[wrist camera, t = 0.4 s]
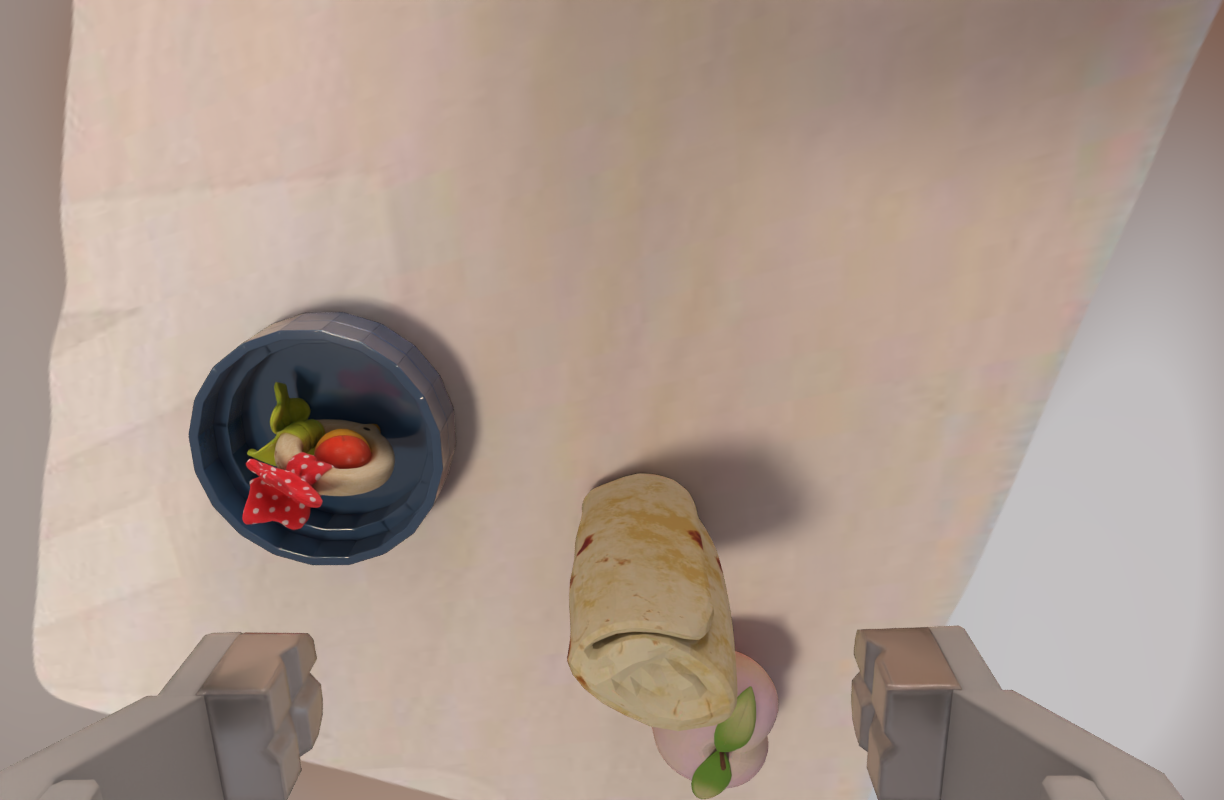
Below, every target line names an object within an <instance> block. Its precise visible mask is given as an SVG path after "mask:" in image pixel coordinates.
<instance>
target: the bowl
mask: <svg viewBox="0 0 1224 800" xmlns="http://www.w3.org/2000/svg"><path fill="white" fill-rule="evenodd" d="M276 382H279V383H283V384H286V386H287V390H288V395H289V398H301V399H303V400H305V402H306V403H307V404H308V405H309V407H310V410H311V412H310V416H309V418H308V420H309V419H314V420H322V419H333V420H345V421H351V422H356V423H360V424H377V425H378V426H379V427H380V431H381V435H382V436H384V437H385V438H386V439H387V440H388V442H389V443H390V444H391V446H392V448H393V451H394V455H395V464H394V469H393V472H392V474H391V476H390V478H389V479H388V480H387V481H386V482H385V483H384V484H383V485H382V486H380V487H378V488H377V489H374V490H372V491H369V492H366V493H362V494H357V495H350V496H328V495H322V496H320V497H321V499H322V505H321V506H320V507H318V508H313V507H310V516H309V519H308V521H307V522H306V523H305V524H304V525H303V527H302V528H300V529H296V530H292V529H289V528H287V527H285V526H284V525H283V524H281V523H280V522H277V521H270V522H265V523H257V524H245V523H244V522H243V519H242V517H243V511H244V508H245V504H246V502H247V499H248V495H249V492H250V481H251V480H252V479H255V478H258V477H259V476H258V475H257V474H255V473H253V472H252V471H251V470H249V469H248V467H247V466H246V462H247V461H248V460H249V459H254V460H257V461H259V462H261V463H265V462H263V461H260V460H258V459H256V458H254V457H251V456H249V455H248V454H247V452H248V450H250V449H255V450H257V451H258V450H260V449H261V448H262V447H264V446H265V445H266V444H268V443H269V442H270V441H271V440H273V439H274V438H275V437H276V434H275V433H274V432H273V431H272V430H271V426H270V418H271V414H272V412H273V409H274V408H275V406H276V405H277V400H276V396H275V391H274V385H275V383H276ZM189 441H190V447H191V453H192V458H193V464H194V470H195V473H196V475H197V477H198V479H199V481H200V483H201V485H202V487H203V489H204V490H205V492H206V494H207V496H208V498H209V500H210V502H211V504H212V506H213V507H214V508H215V509H216V510H217V511H218V512H219V513H220V514H221V515H222V516H223V517H224V518H225V519H226V520H227V522H228V523H229V524H230V525H231V526H232V527H233V528H234V529H235V530H236V531H237V532H238V533H239V534H241V535H242V536H243V537H245V538H247V539H248V540H250V541H252V542H253V543H255V544H257V545H259V546H260V547H262V548H264V549H265V550H267V551H269V552H270V553H272V554H275V555H277V556H281V557H284V558H288V559H291V560H295V561H299V562H302V563H306V564H310V565H351V564H354V563H357V562H360V561H364V560H367V559H370V558H373V557H377V556H380V555H383V554H385V553H387V552H388V551H390V550H391V549H393V548H394V547H395V546H397V545H398V544H400V543H401V542H402V541H404V540H405V539H407V538H408V537H409V536H411V535H412V534H413V533H415V531H416V530H417V528H418V527H419V525H420V524H421V523H422V521H423V520H424V518H425V517H426V515H427V514H428V512H429V511H430V510H431V508H432V507H433V505H434V503H435V501H436V499H437V497H438V495H439V493H440V491H441V489H442V486H443V484H444V482H445V480H446V478H447V476H448V473H449V469H450V465H451V462H452V458H453V454H454V450H455V447H456V432H455V419H454V409H453V406H452V403H451V401H450V399H449V396H448V394H447V391H446V389H445V387H444V384H443V382H442V380H441V377H440V375H439V374H438V372H437V371H436V370H435V369H434V368H433V366H432V365H431V364H430V363H429V362H428V361H427V359H426V358H425V357H424V356H423V355H422V353H421V352H420V351H419V350H418V349H417V347H416V346H415V345H413V344H412V343H410V342H409V341H407V340H406V339H404V338H403V337H401V336H400V335H398V334H396V333H395V332H393V331H392V330H390V329H389V328H387V327H386V326H384V325H383V324H381V323H378V322H375V321H371V320H368V319H365V318H361V317H358V316H354V315H351V314H348V313H343V312H325V313H303V314H300V315H297V316H294V317H291V318H288V319H286V320H283V321H280V322H277V323H274V324H271V325H269V326H268V327H266V328H265V329H263V330H262V331H260V332H259V333H257V334H256V335H254V336H253V337H251V338H250V339H248V340H246V341H245V342H243V343H242V344H241V345H239V346H238V347H237V348H236V349H234V350H233V351H232V352H231V353H230V354H228V355H227V356H226V357H225V358H223V359H222V360H221V361H220V362H218V363H217V364H216V365H215V366H214V367H213V368H212V369H211V371H210V373H209V375H208V376H207V378H206V380H205V382H204V383H203V385H202V387H201V388H200V390H199V392H198V394H197V395H196V397H195V400H194V405H193V411H192V417H191V423H190V429H189ZM265 464H267V463H265ZM268 465H270V464H268ZM271 466H273V467H275V468H277V466H274V465H271Z"/></svg>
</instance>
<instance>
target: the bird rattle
mask: <svg viewBox="0 0 1224 800" xmlns="http://www.w3.org/2000/svg"><path fill="white" fill-rule="evenodd" d="M274 391H275V396H276V400H277V405H276V406H275V408H274V409H273V412H272V414H271V418H270V426H271V430H272V431H273V432H274V433H275V434H276V437H275V438H274V439H273V440H271V441H270V442H269V443H268V444H266V445H265V446H264V447H262V448H261V449H260V450H258V451H257V450H255V449H250V450H248V452H247V454H248V455H249V456H251V457H254V458H256V459H258V460H260V461H263V462H265V463H267V464H265V463H261V462H259V461H257V460H254V459H249V460H248V461H247V462H246V466H247V467H248V469H249V470H251V471H252V472H253V473H255V474H257V475H258V476H259V477H258V478H255V479H252V480H251V481H250V492H249V495H248V499H247V502H246V504H245V508H244V511H243V517H242V519H243V522H244V523H245V524H257V523H265V522H270V521H277V522H280V523H281V524H283V525H284V526H285V527H287V528H289V529H292V530H296V529H300V528H302V527H303V525H304V524H305V523H306V522H307V521H308V519H309V516H310V507H313V508H318V507H320V506H321V505H322V499H321V497H320V496H322V495H328V496H350V495H357V494H362V493H366V492H369V491H372V490H374V489H377V488H378V487H380V486H382V485H383V484H384V483H385V482H386V481H387V480H388V479H389V478H390V476H391V474H392V472H393V469H394V464H395V455H394V451H393V448H392V446H391V444H390V443H389V442H388V440H387V439H386V438H385V437H384V436H382V435H381V431H380V427H379V426H378V425H377V424H360V423H356V422H351V421H345V420H333V419H322V420H314V419H309V420H308V418H309V416H310V412H311V410H310V407H309V405H308V404H307V403H306V402H305V400H303V399H301V398H289V395H288V390H287V386H286V384H283V383H279V382H276V383H275V385H274ZM268 464H270V465H268ZM271 465H274V466H277V468H275V467H273V466H271Z"/></svg>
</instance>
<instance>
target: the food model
mask: <svg viewBox="0 0 1224 800" xmlns="http://www.w3.org/2000/svg"><path fill="white" fill-rule="evenodd" d="M569 609H570V625H571V636H570V644H569V650H568V657H567V662H568V664H569V667H570V669H571V672H572V674H573V675H574V677H575V678H576V679H577V680H578V682H579V683H580V684H581V685H582V686H583V688H584V689H585V690H587V691H588V692H589V693H590V694H592V695H593V696H594V697H595V698H597V699H598V700H599V701H600V702H602V703H603V704H605V705H607V706H609V707H611V708H613V709H615V710H616V711H618V712H620V713H622V714H624V715H626V716H628V717H631V718H633V719H635V720H637V721H639V722H642V723H644V724H646V725H648V726H651V727H657V728H663V729H668V730H674V731H682V730H689V729H696V728H702V727H708V726H714V725H717V724H719V723H722V722H724V721H726V720H727V719H728V718H729V717H730V716H731V715H732V713H733V711H734V709H735V707H736V706H737V692H738V688H737V671H736V656H735V645H734V635H733V626H732V619H731V611H730V605H729V599H728V594H727V589H726V585H725V580H724V576H723V572H722V568H721V564H720V561H719V557H718V554H717V550H716V548H715V546H714V544H713V542H712V539H711V538H710V536H709V534H708V532H707V530H706V529H705V527H704V526H703V524H702V522H701V521H700V519H699V518H698V514H697V510H696V506H695V504H694V501H693V499H692V498H691V496H690V494H689V492H688V491H687V490H686V489H685V488H684V487H682V486H681V485H680V484H679V483H677V482H676V481H675V480H672V479H669V478H666V477H663V476H660V475H657V474H639V473H638V474H634V475H630V476H626V477H622V478H619V479H617V480H614V481H611V482H609V483H606V484H604V485H601V486H599V487H597V488H595V489H592V490H591V491H590V492H589V493H588V494H587V496H586V497H585V498H584V501H583V504H582V518H581V522H580V525H579V529H578V532H577V536H576V542H575V555H574V564H573V570H572V574H571V579H570V592H569Z"/></svg>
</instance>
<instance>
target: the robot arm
mask: <svg viewBox="0 0 1224 800" xmlns="http://www.w3.org/2000/svg"><path fill="white" fill-rule="evenodd" d="M854 656H855V659H856V662H857V664H858V667H859V670H860V672H859V673H858V674H857V675H856V676H855V678H854V679H853V680H852V692H851V705H852V720H853V724H854V729H855V734H856V737H857V740H858V743H859V746H860V747H862V748H863V749H864V750H866V751H867V752H868V756H867V770H868V773H869V775H870V778H871V781H872V784H873V787H874V790H875V793H876V795H877V798H878V800H1184V799H1183V797H1182V796H1181V795H1180V794H1179V792H1178V791H1177V790H1176V788H1175V787H1174V786H1173V784H1172V783H1171V782H1170V781H1169V780H1168V778H1167V777H1166V775H1165V774H1164V773H1162V772H1160V771H1159V770H1157V769H1155V768H1153V767H1151V766H1150V765H1148V764H1146V763H1144V762H1142V761H1140V760H1139V759H1136V758H1135V757H1133V756H1131V755H1130V754H1128V753H1126V752H1124V751H1122V750H1120V749H1119V748H1117V747H1115V746H1113V745H1111V744H1110V743H1108V742H1106V741H1104V740H1102V739H1101V738H1099V737H1097V736H1095V735H1093V734H1091V733H1090V732H1088V731H1086V730H1084V729H1082V728H1080V727H1079V726H1077V725H1075V724H1073V723H1071V722H1070V721H1068V720H1066V719H1064V718H1062V717H1061V716H1059V715H1057V714H1055V713H1053V712H1051V711H1050V710H1048V709H1046V708H1044V707H1042V706H1041V705H1039V704H1037V703H1035V702H1033V701H1032V700H1030V699H1028V698H1026V697H1024V696H1022V695H1021V694H1019V693H1017V692H1015V691H1013V690H1002V689H1001V687H1000V685H999V684H998V682H997V680H996V679H995V677H994V676H993V674H992V673H991V671H990V669H989V668H988V666H987V664H986V663H985V661H984V660H983V658H982V657H981V655H980V653H979V652H978V650H977V648H976V647H975V645H974V644H973V642H972V640H971V639H970V637H969V636H968V634H967V632H966V631H965V629H964V628H962V627H960V626H938V627H920V628H890V629H861V630H857V633H856V637H855V645H854ZM316 659H317V656H316V651H315V645H314V640H313V638H312V637H311V636H310V635H309V634H308V633H241V632H229V633H211V634H207V635H205V636H204V637H203V638H202V640H201V641H200V642H199V643H198V645H197V646H196V647H195V649H194V650H193V651H192V652H191V654H190V655H189V656H188V657H187V659H186V660H185V661H184V663H183V664H182V665H181V666H180V668H179V669H178V670H177V671H176V673H175V674H174V675H173V676H172V678H171V679H170V680H169V682H168V683H167V684H166V685H165V687H164V688H163V689H162V690H161V692H160V693H159V694H158V695H157V696H146V697H144V698H142V699H140V700H138V701H136V702H134V703H132V704H130V705H128V706H127V707H125V708H123V709H121V710H119V711H117V712H115V713H113V714H111V715H109V716H107V717H105V718H103V719H101V720H99V721H97V722H96V723H94V724H91V725H90V726H87V727H86V728H84V729H82V730H80V731H78V732H76V733H74V734H72V735H70V736H68V737H66V738H64V739H62V740H60V741H58V742H56V743H54V744H52V745H50V746H48V747H46V748H45V749H43V750H41V751H39V752H37V753H35V754H33V755H31V756H29V757H27V758H25V759H23V760H21V761H19V762H17V763H15V764H14V765H11V766H9V767H7V768H5V769H3V770H1V771H0V800H287V799H288V797H289V795H290V793H291V791H292V789H293V787H294V785H295V783H296V781H297V779H298V776H299V775H300V772H301V770H302V768H301V762H300V757H301V756H302V755H303V754H305V753H306V752H308V751H309V750H311V749H312V748H313V746H314V743H315V741H316V739H317V737H318V735H319V730H320V725H321V720H322V715H323V697H322V690H321V684H320V683H319V682H318V681H317V680H316V679H315V678H314V677H313V676H312V674H311V673H310V671H311V669H312V667H313V665H314V663H315V661H316Z"/></svg>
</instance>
